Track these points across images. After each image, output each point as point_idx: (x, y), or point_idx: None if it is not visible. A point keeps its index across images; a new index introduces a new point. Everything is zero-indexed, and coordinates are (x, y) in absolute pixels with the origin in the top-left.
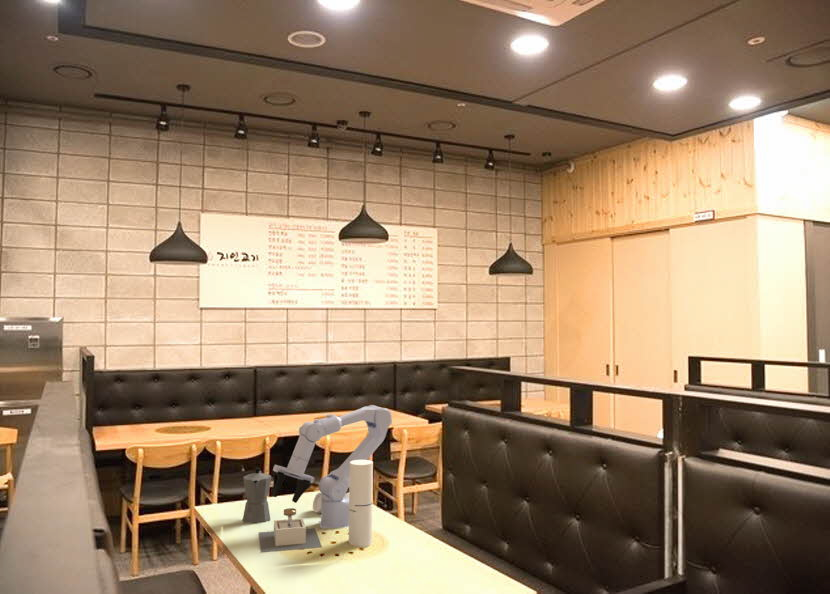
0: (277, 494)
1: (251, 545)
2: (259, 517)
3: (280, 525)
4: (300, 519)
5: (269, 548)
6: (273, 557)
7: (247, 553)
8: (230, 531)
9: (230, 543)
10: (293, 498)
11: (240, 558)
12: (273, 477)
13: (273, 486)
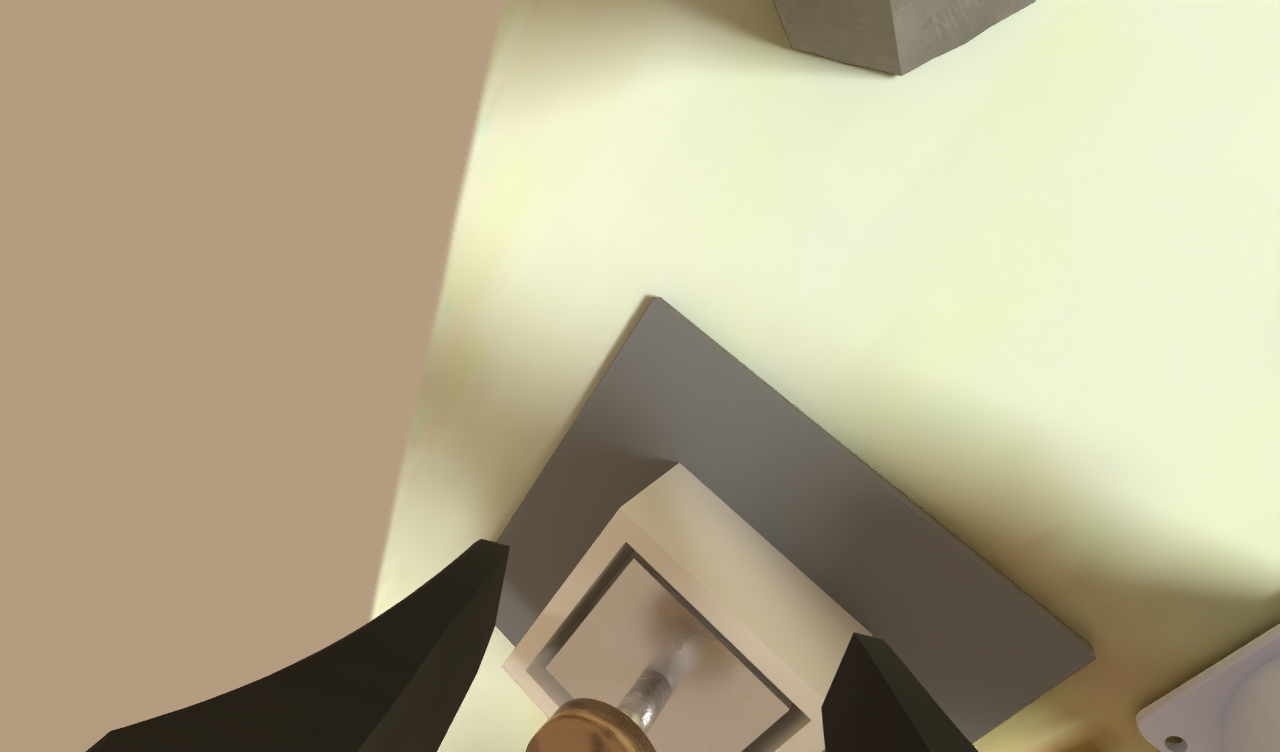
0: (478, 666)
1: (511, 435)
2: (829, 29)
3: (597, 622)
4: (810, 721)
5: (523, 598)
6: (494, 672)
7: (439, 509)
8: (562, 57)
9: (450, 296)
10: (861, 677)
11: (390, 527)
12: (225, 698)
13: (399, 607)
